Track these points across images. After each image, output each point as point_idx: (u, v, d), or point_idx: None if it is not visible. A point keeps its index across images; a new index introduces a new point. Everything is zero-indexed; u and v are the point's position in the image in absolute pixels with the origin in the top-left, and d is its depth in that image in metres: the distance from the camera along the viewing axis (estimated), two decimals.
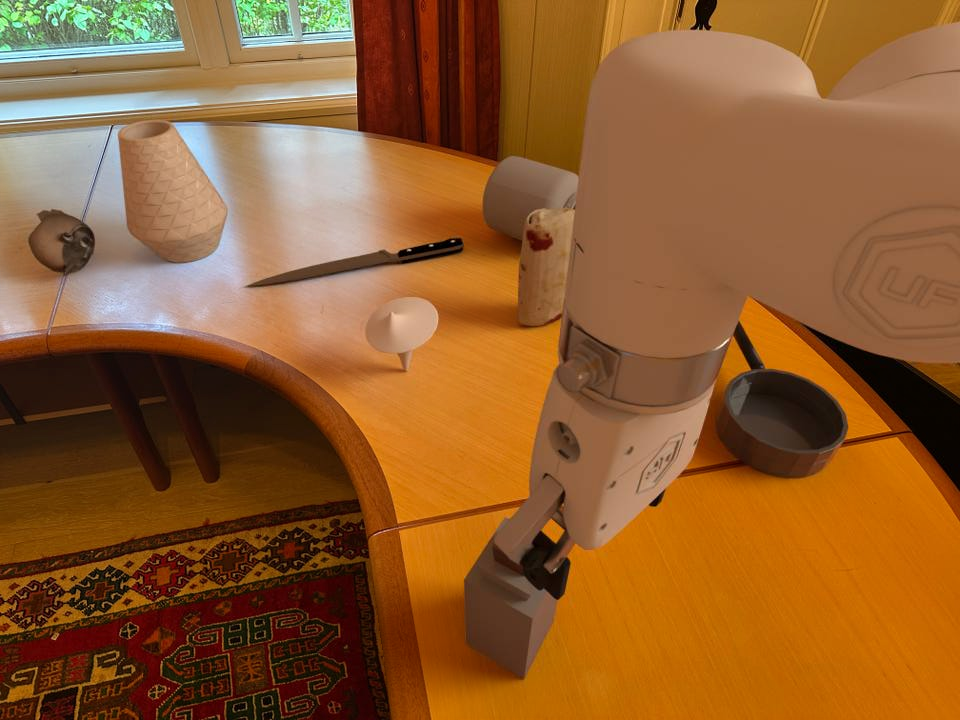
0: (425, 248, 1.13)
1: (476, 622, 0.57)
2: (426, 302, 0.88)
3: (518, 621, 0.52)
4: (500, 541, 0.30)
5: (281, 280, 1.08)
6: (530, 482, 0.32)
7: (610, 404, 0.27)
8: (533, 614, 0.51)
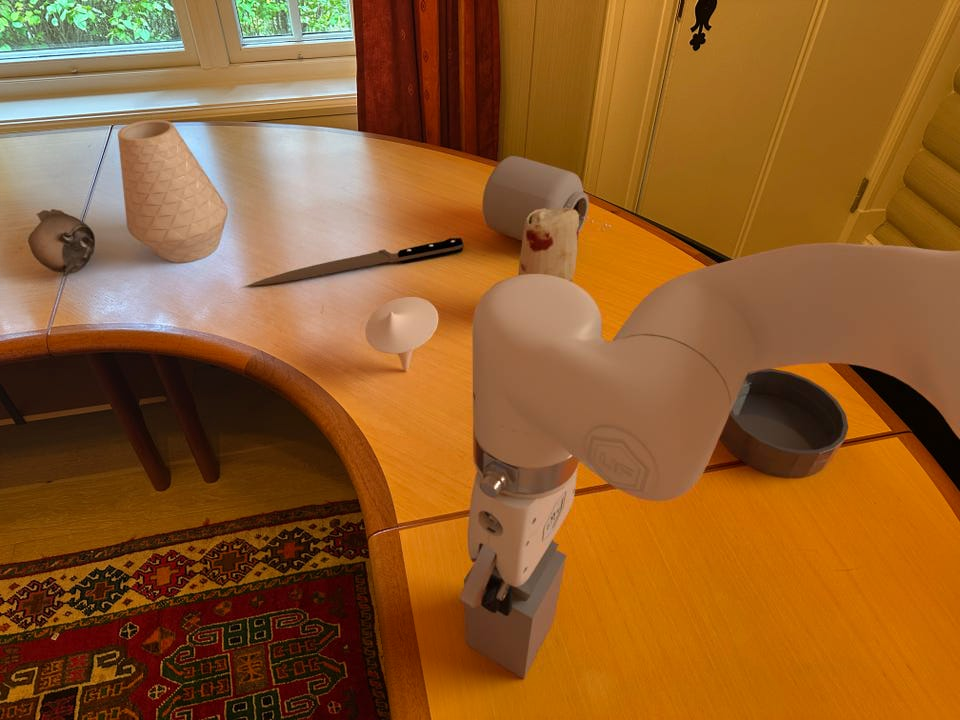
0: (425, 248, 1.13)
1: (476, 622, 0.57)
2: (426, 302, 0.88)
3: (518, 621, 0.52)
4: (464, 599, 0.44)
5: (281, 280, 1.08)
6: (469, 549, 0.46)
7: (516, 496, 0.40)
8: (533, 614, 0.51)
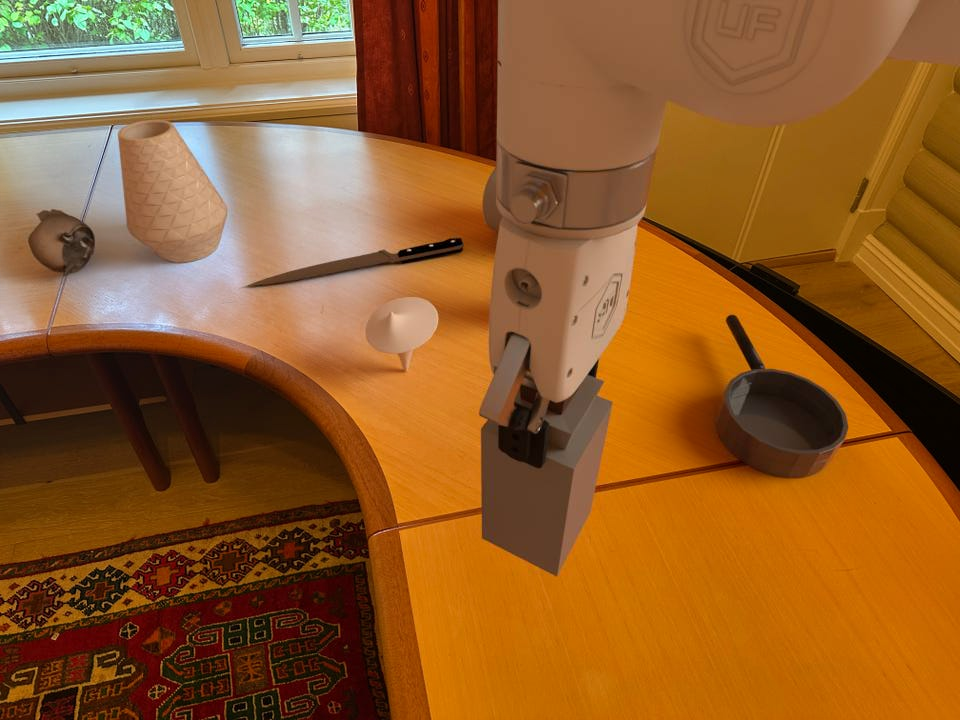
0: (425, 248, 1.13)
1: (496, 498, 0.45)
2: (426, 302, 0.88)
3: (553, 481, 0.40)
4: (485, 411, 0.31)
5: (281, 280, 1.08)
6: (491, 351, 0.33)
7: (562, 235, 0.28)
8: (574, 464, 0.38)
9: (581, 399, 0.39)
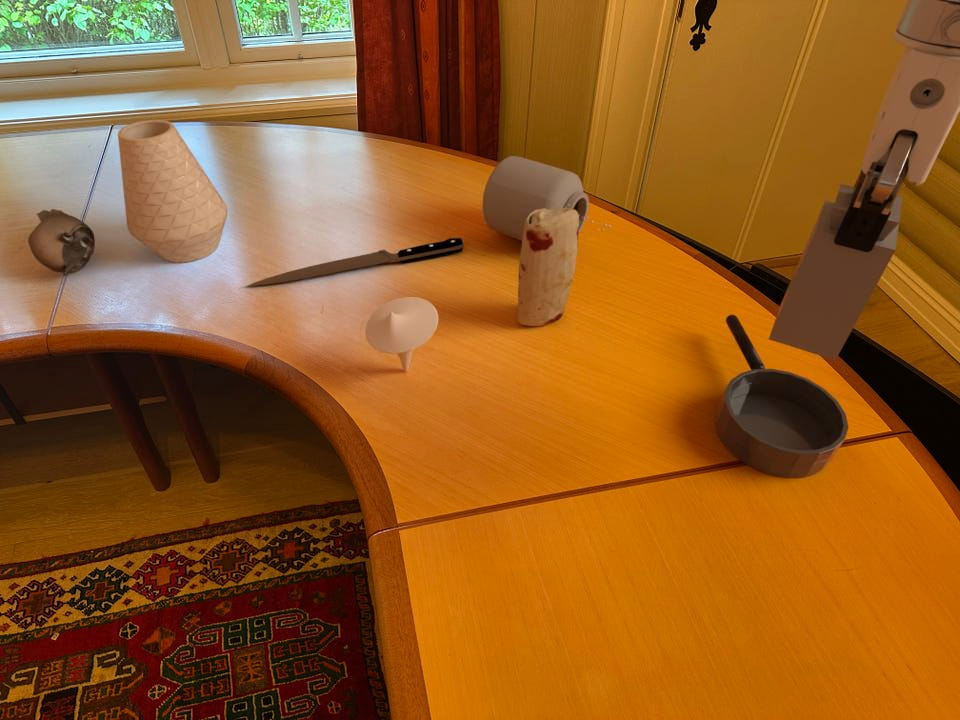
0: (425, 248, 1.13)
1: (802, 294, 0.61)
2: (426, 302, 0.88)
3: (869, 265, 0.56)
4: (883, 183, 0.48)
5: (281, 280, 1.08)
6: (875, 150, 0.49)
7: None
8: (894, 247, 0.55)
9: (892, 206, 0.56)
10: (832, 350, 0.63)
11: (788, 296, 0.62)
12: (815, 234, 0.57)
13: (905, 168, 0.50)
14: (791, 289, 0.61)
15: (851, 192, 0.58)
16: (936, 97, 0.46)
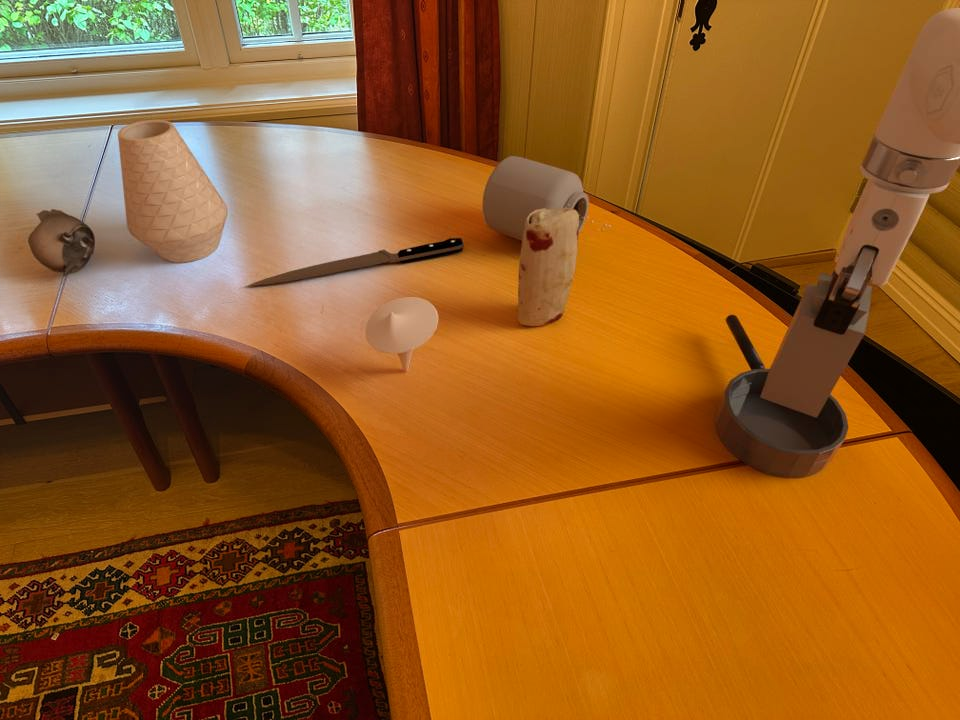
0: (425, 248, 1.13)
1: (788, 363, 0.72)
2: (426, 302, 0.88)
3: (843, 344, 0.67)
4: (850, 288, 0.59)
5: (281, 280, 1.08)
6: (845, 258, 0.60)
7: (915, 191, 0.55)
8: (863, 331, 0.65)
9: (863, 295, 0.67)
10: (814, 409, 0.74)
11: (776, 364, 0.73)
12: (798, 316, 0.68)
13: (870, 272, 0.61)
14: (779, 358, 0.72)
15: (829, 280, 0.69)
16: (893, 221, 0.57)
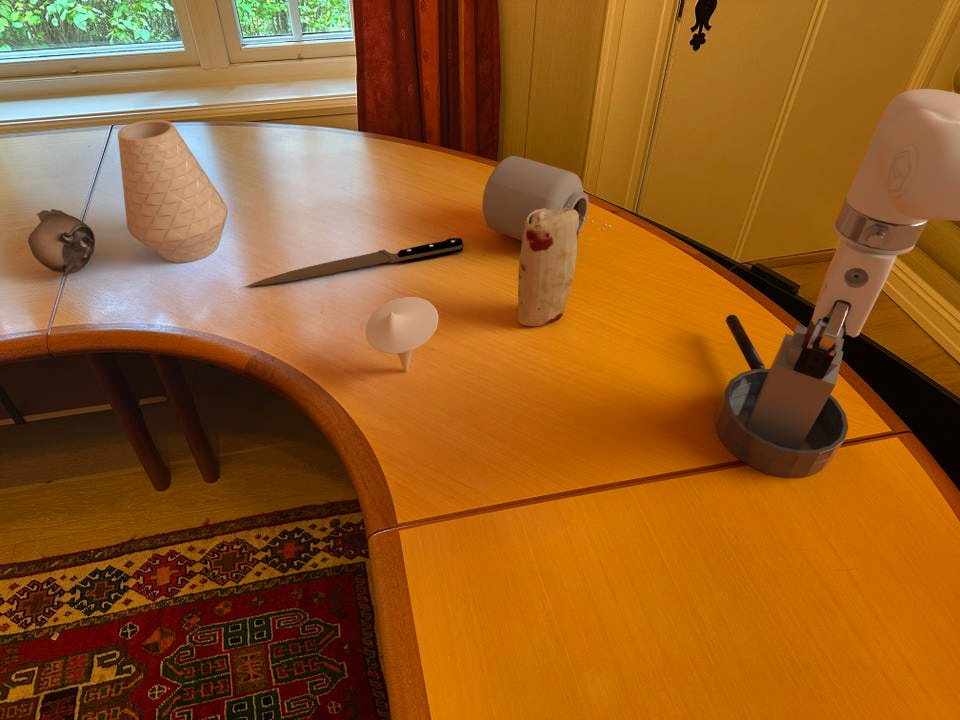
0: (425, 248, 1.13)
1: (767, 408, 0.77)
2: (426, 302, 0.88)
3: (817, 393, 0.72)
4: (828, 334, 0.62)
5: (281, 280, 1.08)
6: (820, 310, 0.64)
7: (883, 252, 0.59)
8: (835, 382, 0.71)
9: None
10: None
11: (756, 408, 0.78)
12: (775, 367, 0.73)
13: (844, 323, 0.65)
14: (758, 403, 0.77)
15: (804, 333, 0.74)
16: (864, 278, 0.61)
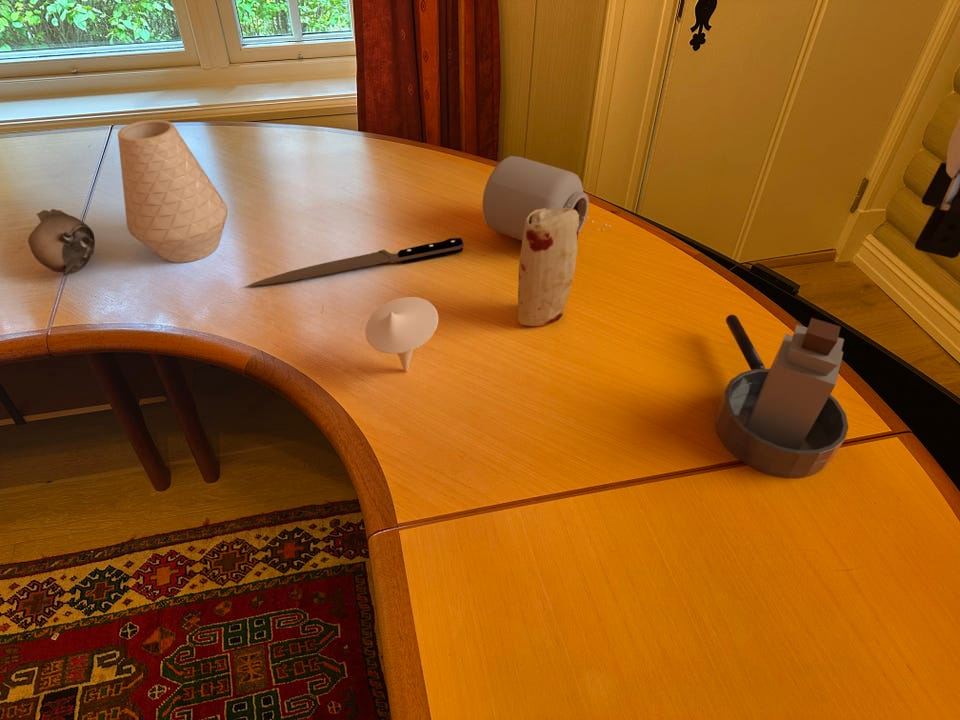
0: (425, 248, 1.13)
1: (767, 408, 0.77)
2: (426, 302, 0.88)
3: (817, 393, 0.72)
4: None
5: (281, 280, 1.08)
6: None
7: None
8: (835, 382, 0.71)
9: (835, 348, 0.72)
10: None
11: (756, 408, 0.78)
12: (775, 367, 0.73)
13: None
14: (758, 403, 0.77)
15: (804, 333, 0.74)
16: None
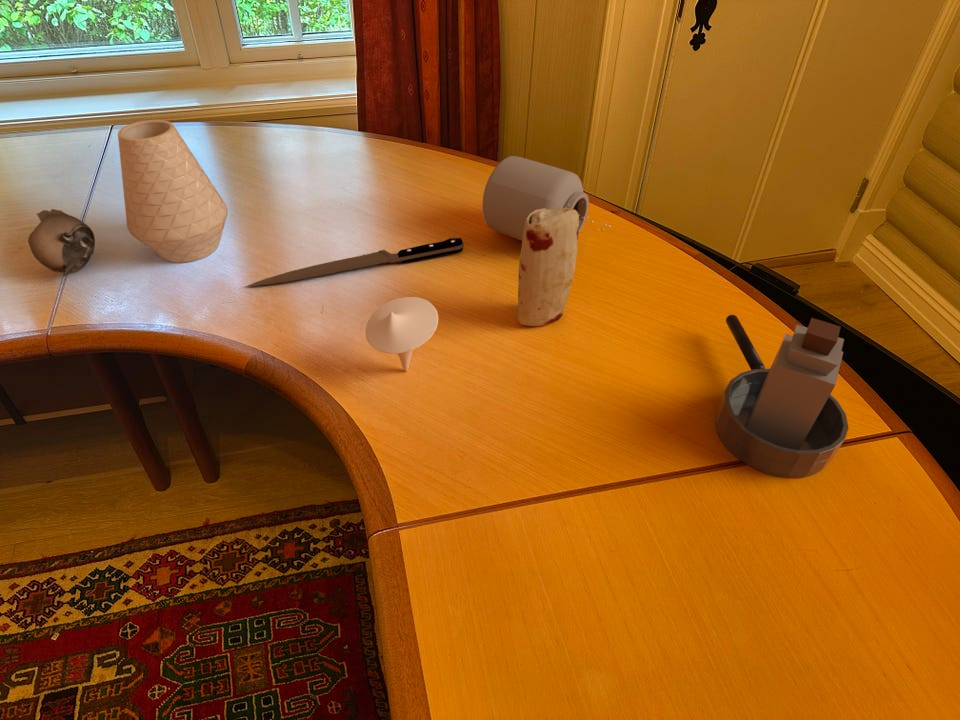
0: (425, 248, 1.13)
1: (767, 408, 0.77)
2: (426, 302, 0.88)
3: (817, 393, 0.72)
4: None
5: (281, 280, 1.08)
6: None
7: None
8: (835, 382, 0.71)
9: (835, 348, 0.72)
10: None
11: (756, 408, 0.78)
12: (775, 367, 0.73)
13: None
14: (758, 403, 0.77)
15: (804, 333, 0.74)
16: None
